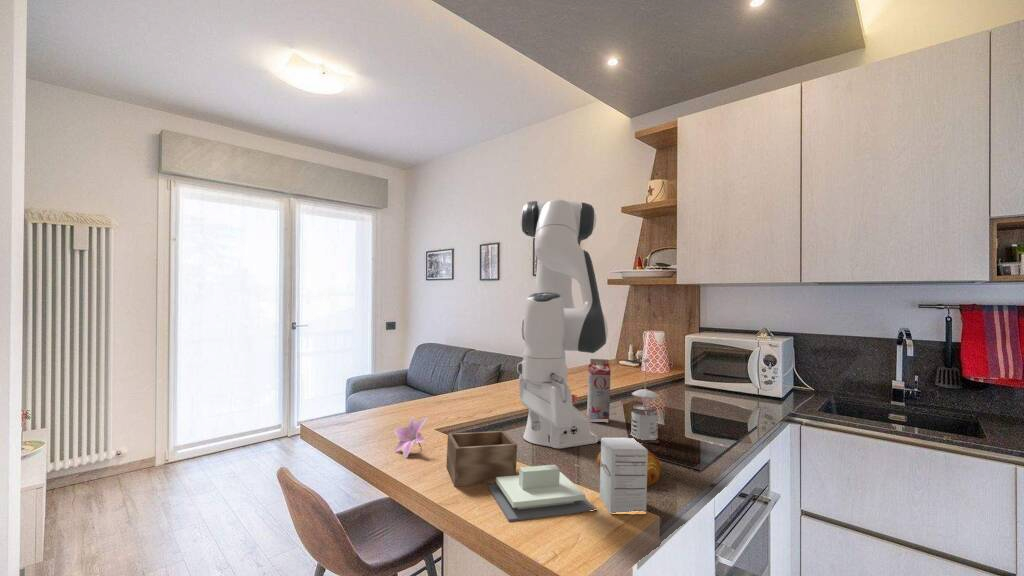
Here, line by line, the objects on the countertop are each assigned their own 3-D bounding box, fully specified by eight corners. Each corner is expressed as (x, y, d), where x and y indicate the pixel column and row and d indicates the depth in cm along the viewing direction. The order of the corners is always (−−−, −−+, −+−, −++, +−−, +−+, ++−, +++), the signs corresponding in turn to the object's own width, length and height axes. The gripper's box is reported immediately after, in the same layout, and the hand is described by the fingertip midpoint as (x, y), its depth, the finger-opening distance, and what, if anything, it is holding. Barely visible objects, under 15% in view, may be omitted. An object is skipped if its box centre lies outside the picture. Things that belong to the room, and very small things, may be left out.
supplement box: (598, 498, 87) (600, 436, 88) (633, 498, 87) (634, 437, 88) (609, 515, 80) (611, 448, 80) (647, 515, 80) (648, 448, 81)
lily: (394, 448, 116) (383, 423, 112) (431, 430, 119) (422, 406, 116) (401, 474, 106) (390, 448, 103) (441, 454, 109) (432, 429, 106)
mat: (564, 480, 95) (564, 478, 95) (596, 510, 81) (596, 508, 81) (488, 487, 90) (488, 485, 90) (508, 521, 76) (508, 519, 76)
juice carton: (609, 423, 147) (610, 360, 148) (590, 422, 147) (592, 359, 148) (605, 418, 154) (606, 358, 155) (587, 417, 154) (588, 357, 155)
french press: (626, 441, 127) (627, 358, 128) (630, 431, 138) (632, 355, 139) (660, 446, 123) (661, 361, 125) (661, 435, 134) (663, 357, 136)
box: (502, 463, 104) (503, 430, 105) (515, 480, 94) (517, 444, 94) (446, 467, 100) (447, 433, 101) (454, 486, 90) (455, 448, 90)
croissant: (629, 501, 91) (633, 466, 90) (585, 466, 105) (588, 435, 104) (675, 489, 98) (679, 456, 97) (629, 457, 111) (632, 428, 111)
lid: (559, 481, 94) (560, 455, 94) (585, 506, 82) (586, 476, 82) (495, 487, 89) (496, 460, 89) (512, 514, 78) (514, 483, 78)
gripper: (581, 377, 78) (581, 452, 78) (539, 362, 98) (539, 422, 97) (550, 379, 76) (550, 456, 76) (514, 363, 96) (514, 424, 95)
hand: (544, 436), depth 87 cm, fingers open, 8 cm apart
